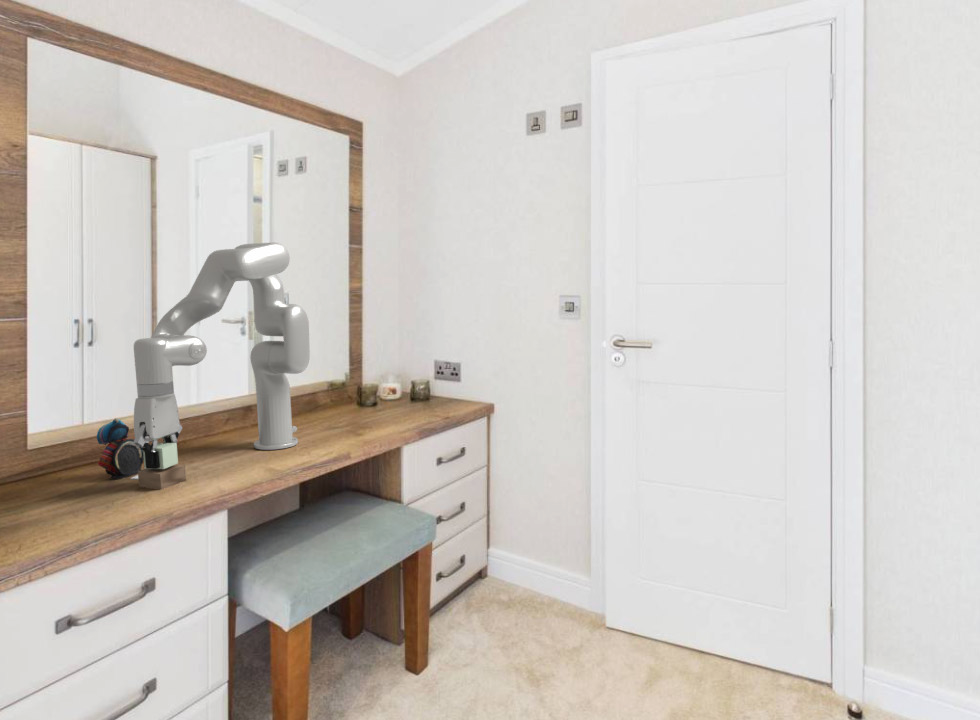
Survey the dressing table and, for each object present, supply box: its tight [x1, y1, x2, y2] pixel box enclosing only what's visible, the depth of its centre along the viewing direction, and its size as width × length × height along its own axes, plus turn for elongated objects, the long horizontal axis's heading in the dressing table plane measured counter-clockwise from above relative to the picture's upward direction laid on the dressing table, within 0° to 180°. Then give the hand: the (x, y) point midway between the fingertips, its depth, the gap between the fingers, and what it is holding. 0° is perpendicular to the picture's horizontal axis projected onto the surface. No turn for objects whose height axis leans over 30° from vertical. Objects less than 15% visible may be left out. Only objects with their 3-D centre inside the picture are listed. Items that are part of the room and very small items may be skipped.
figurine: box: [96, 417, 144, 481], centre depth 145 cm, size 10×7×15 cm
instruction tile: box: [130, 474, 139, 481], centre depth 145 cm, size 8×5×1 cm, turn 171°
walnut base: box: [137, 464, 187, 490], centre depth 138 cm, size 7×7×4 cm
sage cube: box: [143, 442, 179, 469], centre depth 138 cm, size 5×5×5 cm
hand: (161, 463), depth 138 cm, fingers closed on sage cube, 5 cm apart
